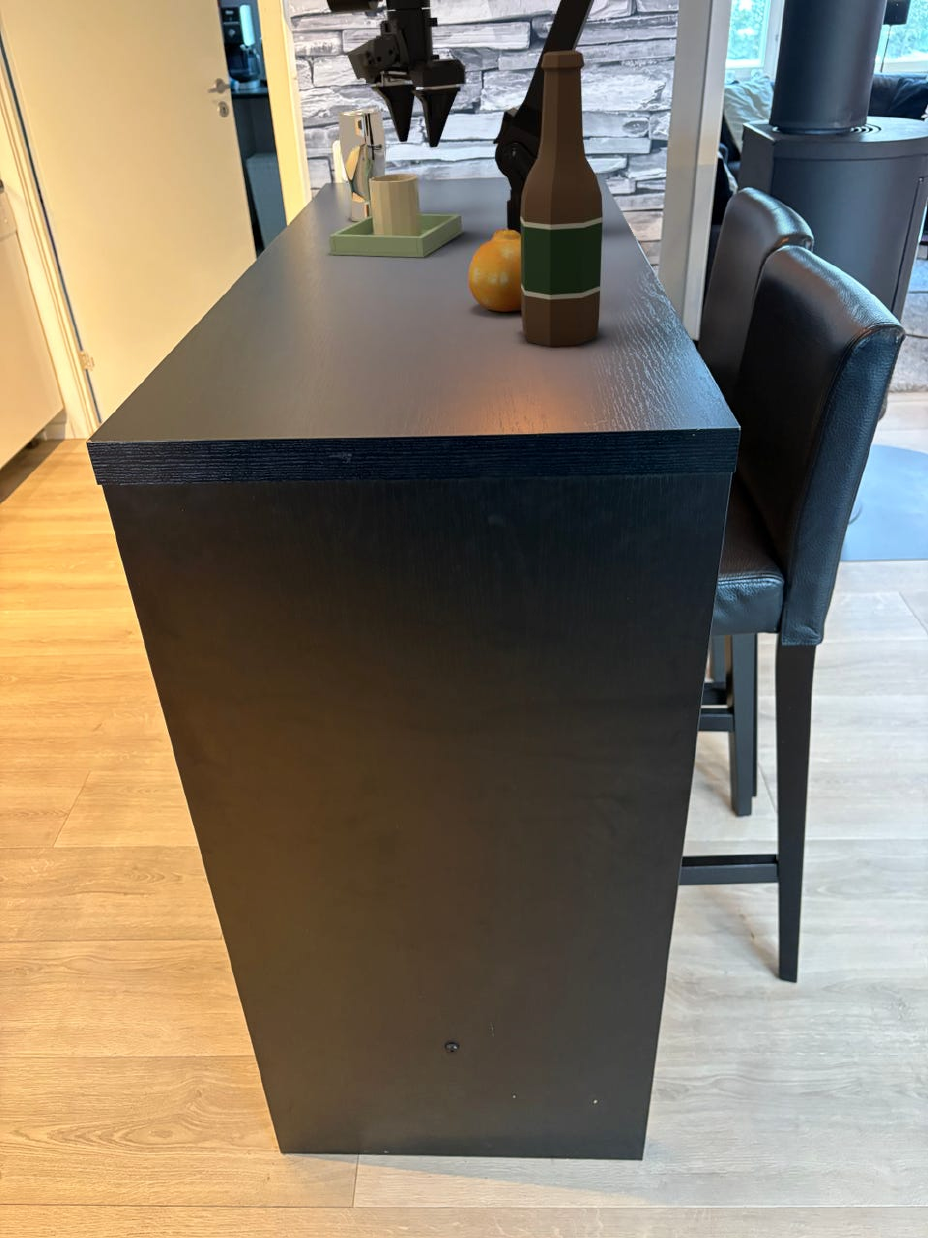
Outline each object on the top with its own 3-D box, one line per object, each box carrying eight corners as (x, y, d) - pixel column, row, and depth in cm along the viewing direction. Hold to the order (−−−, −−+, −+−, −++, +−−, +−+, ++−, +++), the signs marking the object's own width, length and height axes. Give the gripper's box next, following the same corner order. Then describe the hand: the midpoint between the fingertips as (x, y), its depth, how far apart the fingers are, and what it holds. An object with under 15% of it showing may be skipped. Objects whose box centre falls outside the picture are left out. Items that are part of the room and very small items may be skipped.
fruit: (496, 269, 106) (482, 212, 99) (562, 281, 103) (552, 223, 96) (466, 323, 103) (450, 268, 96) (533, 337, 100) (521, 281, 93)
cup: (428, 235, 133) (424, 173, 128) (411, 245, 127) (406, 181, 123) (385, 234, 135) (380, 173, 130) (367, 244, 129) (361, 181, 125)
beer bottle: (606, 326, 94) (617, 46, 81) (589, 349, 88) (598, 52, 74) (532, 322, 96) (530, 50, 83) (510, 345, 90) (505, 55, 77)
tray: (462, 232, 135) (461, 214, 134) (423, 257, 123) (422, 237, 122) (376, 230, 139) (375, 213, 138) (330, 254, 127) (328, 235, 126)
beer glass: (385, 222, 145) (375, 113, 136) (342, 222, 146) (330, 114, 138) (396, 213, 150) (388, 108, 142) (355, 214, 152) (344, 109, 143)
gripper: (323, 14, 124) (338, 145, 132) (382, 10, 110) (395, 157, 119) (398, 10, 128) (408, 137, 137) (464, 5, 114) (470, 147, 123)
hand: (418, 144), depth 129 cm, fingers open, 9 cm apart
